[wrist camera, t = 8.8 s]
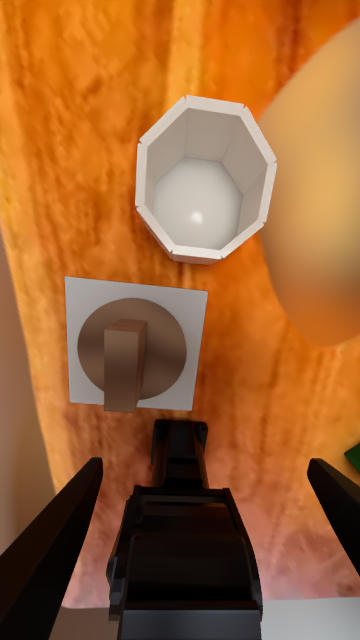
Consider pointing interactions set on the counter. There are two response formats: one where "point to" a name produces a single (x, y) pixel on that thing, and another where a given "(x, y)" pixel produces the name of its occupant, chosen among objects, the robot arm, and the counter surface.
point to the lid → (131, 351)
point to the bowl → (204, 179)
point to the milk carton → (354, 457)
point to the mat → (178, 301)
